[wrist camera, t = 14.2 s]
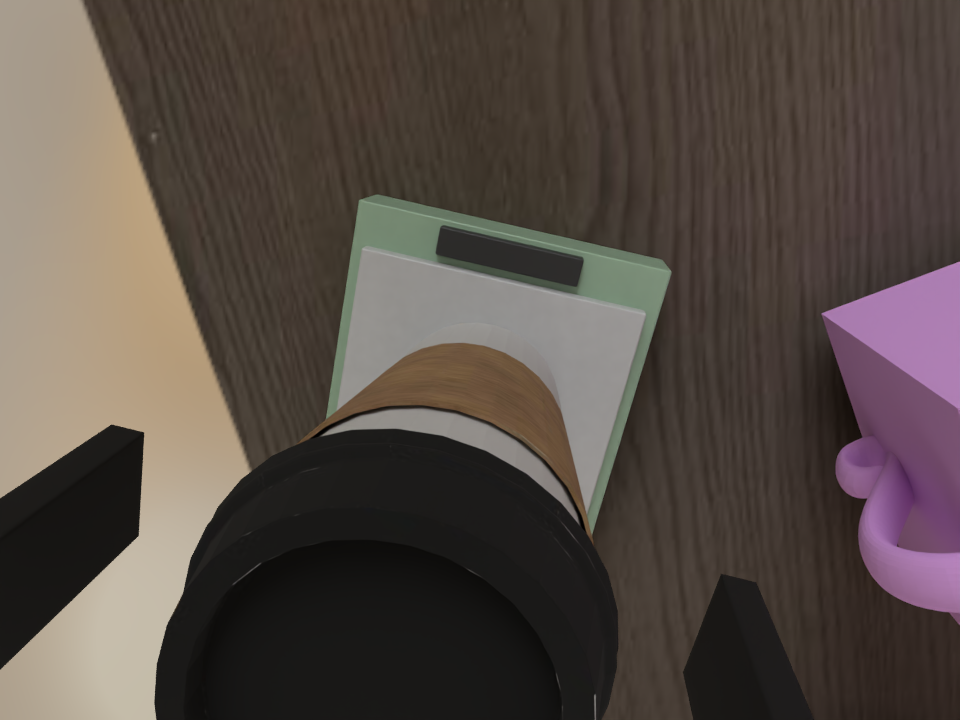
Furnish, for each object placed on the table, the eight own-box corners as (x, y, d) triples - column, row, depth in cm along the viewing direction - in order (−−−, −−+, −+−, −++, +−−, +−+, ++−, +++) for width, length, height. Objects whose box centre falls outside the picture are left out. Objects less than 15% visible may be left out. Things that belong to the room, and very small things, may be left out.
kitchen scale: (332, 471, 30) (308, 506, 28) (376, 194, 27) (353, 201, 24) (581, 533, 30) (582, 575, 27) (663, 259, 26) (674, 274, 23)
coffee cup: (330, 448, 27) (65, 804, 13) (412, 245, 24) (192, 405, 10) (532, 539, 27) (496, 990, 13) (636, 347, 24) (737, 649, 10)
